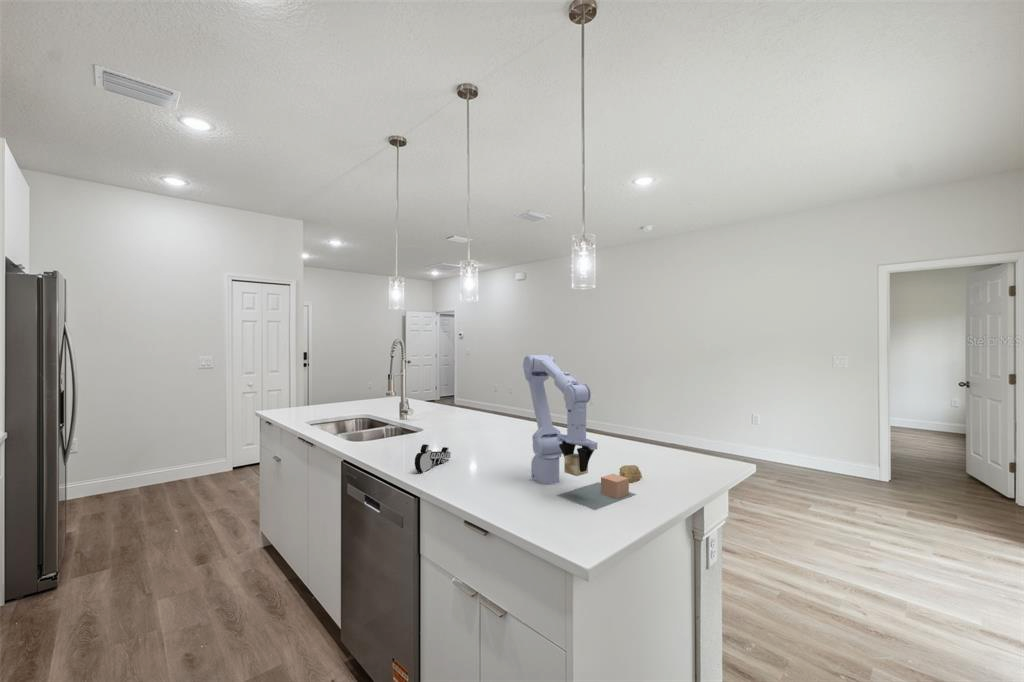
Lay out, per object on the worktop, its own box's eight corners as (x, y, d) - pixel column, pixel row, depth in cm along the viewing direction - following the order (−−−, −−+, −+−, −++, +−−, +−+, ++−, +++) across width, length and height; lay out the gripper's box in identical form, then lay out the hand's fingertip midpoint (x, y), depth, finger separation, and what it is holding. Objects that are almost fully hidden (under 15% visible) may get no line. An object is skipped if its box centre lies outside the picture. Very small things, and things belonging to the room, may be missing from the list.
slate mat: (556, 497, 132) (556, 495, 132) (598, 484, 145) (598, 482, 145) (594, 512, 121) (594, 510, 121) (636, 497, 134) (636, 494, 134)
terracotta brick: (600, 493, 134) (600, 477, 134) (612, 489, 138) (612, 473, 138) (616, 498, 130) (616, 482, 130) (628, 494, 134) (628, 478, 134)
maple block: (564, 472, 132) (564, 455, 132) (575, 469, 135) (575, 453, 135) (576, 476, 128) (576, 459, 128) (587, 473, 131) (588, 456, 131)
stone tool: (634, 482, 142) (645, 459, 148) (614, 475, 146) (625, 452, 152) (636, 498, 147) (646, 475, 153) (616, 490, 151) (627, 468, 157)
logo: (418, 473, 154) (422, 444, 156) (413, 472, 155) (416, 444, 157) (448, 470, 173) (451, 444, 175) (444, 469, 174) (447, 444, 176)
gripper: (550, 422, 135) (550, 465, 135) (586, 429, 124) (585, 477, 124) (566, 419, 139) (565, 461, 139) (602, 426, 128) (601, 472, 128)
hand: (576, 468), depth 132 cm, fingers closed on maple block, 5 cm apart
